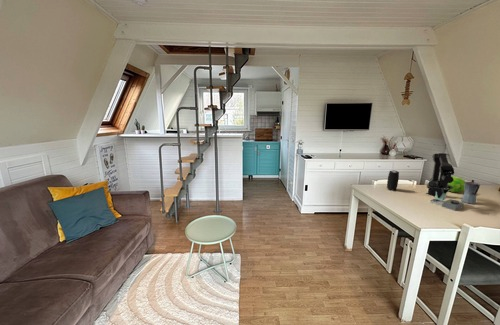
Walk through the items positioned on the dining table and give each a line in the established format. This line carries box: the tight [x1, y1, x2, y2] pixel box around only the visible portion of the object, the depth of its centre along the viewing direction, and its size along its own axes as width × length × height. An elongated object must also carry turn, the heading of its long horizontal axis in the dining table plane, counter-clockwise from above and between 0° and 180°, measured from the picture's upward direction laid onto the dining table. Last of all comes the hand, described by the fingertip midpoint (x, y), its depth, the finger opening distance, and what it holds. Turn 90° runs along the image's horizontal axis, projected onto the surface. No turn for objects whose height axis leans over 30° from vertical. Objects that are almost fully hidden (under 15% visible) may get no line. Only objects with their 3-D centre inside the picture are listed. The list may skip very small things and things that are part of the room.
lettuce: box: [448, 176, 466, 193], centre depth 201 cm, size 17×20×15 cm
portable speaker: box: [386, 170, 400, 191], centre depth 205 cm, size 9×9×20 cm
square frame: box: [429, 198, 464, 211], centre depth 168 cm, size 12×17×6 cm
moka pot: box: [460, 179, 481, 205], centre depth 172 cm, size 10×15×20 cm, turn 161°
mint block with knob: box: [434, 192, 447, 201], centre depth 171 cm, size 5×5×6 cm
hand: (440, 197), depth 172 cm, fingers closed on mint block with knob, 5 cm apart
